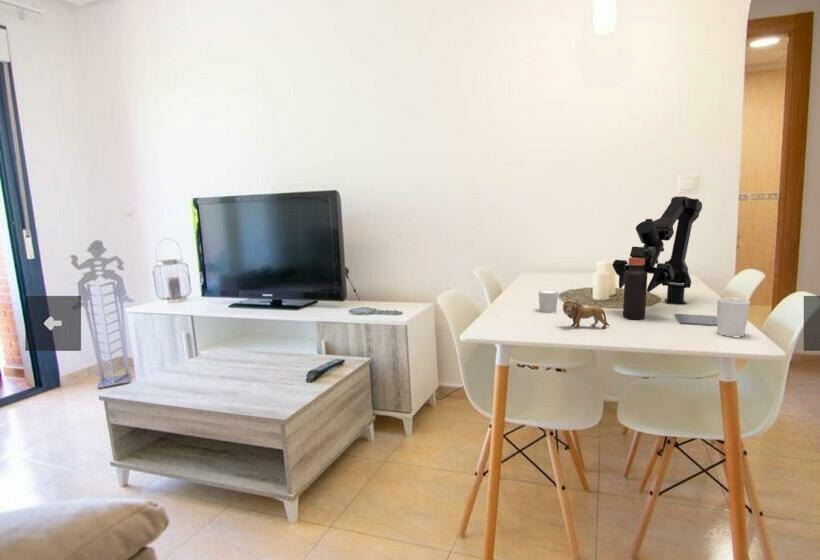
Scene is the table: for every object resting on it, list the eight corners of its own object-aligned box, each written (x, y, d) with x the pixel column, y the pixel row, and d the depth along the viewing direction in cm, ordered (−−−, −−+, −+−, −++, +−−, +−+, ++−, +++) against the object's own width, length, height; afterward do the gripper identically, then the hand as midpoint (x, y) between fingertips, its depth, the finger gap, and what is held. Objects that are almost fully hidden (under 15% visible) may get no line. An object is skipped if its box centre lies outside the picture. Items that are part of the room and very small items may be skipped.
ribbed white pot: (538, 312, 179) (538, 293, 178) (537, 308, 185) (538, 289, 184) (558, 313, 177) (558, 293, 176) (557, 309, 184) (558, 290, 183)
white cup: (715, 336, 146) (718, 302, 144) (714, 329, 153) (716, 297, 151) (748, 339, 142) (751, 304, 140) (745, 332, 149) (748, 299, 147)
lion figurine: (564, 330, 155) (565, 301, 154) (559, 325, 160) (560, 297, 159) (612, 329, 155) (614, 300, 154) (605, 324, 161) (607, 296, 159)
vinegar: (621, 314, 173) (624, 256, 170) (643, 315, 171) (647, 257, 168) (623, 319, 167) (626, 259, 163) (646, 320, 165) (649, 259, 161)
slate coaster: (674, 315, 171) (674, 313, 171) (715, 317, 167) (715, 315, 167) (679, 323, 160) (679, 322, 160) (723, 326, 156) (723, 324, 155)
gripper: (616, 236, 174) (598, 271, 169) (673, 238, 160) (656, 277, 155) (625, 257, 180) (609, 291, 175) (681, 261, 167) (665, 299, 161)
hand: (633, 289), depth 166 cm, fingers open, 9 cm apart
